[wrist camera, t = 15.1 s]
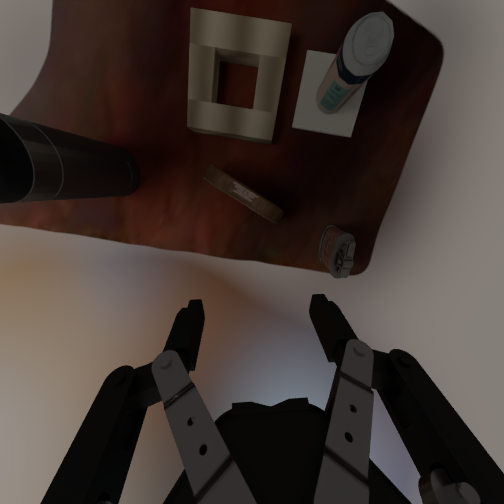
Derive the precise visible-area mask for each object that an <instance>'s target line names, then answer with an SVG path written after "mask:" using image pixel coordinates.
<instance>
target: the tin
mask: <svg viewBox="0 0 504 504" xmlns="http://www.w3.org/2000/svg"><path fill="white" fill-rule="evenodd" d="M202 178H203V179H205V180H206V181H208V182H209V183H210V184H212V185H214V186H215V187H217V188H218V189H220V190H221V191H223V192H224V193H226V194H228V195H229V196H231V197H232V198H234V199H236V200H237V201H239V202H240V203H242V204H244V205H245V206H247V207H248V208H250V209H251V210H253V211H255V212H256V213H258V214H259V215H261V216H263V217H264V218H266V219H268V220H269V221H271V222H273V223H275V224H278V221H279V220H280V218H281V217H282V215H283V210H282V209H280V208H279V207H278V206H276V205H275V204H273V203H272V202H270V201H269V200H267V199H266V198H264V197H263V196H261V195H260V194H258V193H257V192H255V191H254V190H252V189H251V188H249V187H248V186H246V185H244V184H243V183H241V182H240V181H238V180H237V179H235V178H233V177H232V176H230V175H229V174H227V173H225V172H224V171H222V170H221V169H219V168H217V167H216V166H214V165H209V166H208V168H207V170H206V172H205V174H204V176H203V177H202Z"/></svg>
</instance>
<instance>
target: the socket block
mask: <svg viewBox="0 0 504 504" xmlns="http://www.w3.org/2000/svg"><path fill="white" fill-rule="evenodd" d="M291 26H292V24H291V23H285V22H278V21H272V20H266V19H260V18H253V17H247V16H241V15H234V14H228V13H222V12H216V11H209V10H203V9H197V8H191V20H190V51H189V82H188V113H187V127H189V128H190V129H191V130H192V131H194V132H198V133H204V134H210V135H216V136H222V137H228V138H234V139H240V140H246V141H252V142H258V143H264V144H270V145H271V143H272V137H273V132H274V126H275V120H276V114H277V108H278V102H279V97H280V91H281V85H282V79H283V73H284V68H285V62H286V56H287V50H288V44H289V38H290V32H291ZM220 61H223V62H229V63H235V64H241V65H247V66H253V67H259V68H258V76H257V83H256V91H255V98H254V106H253V109H247V108H241V107H235V106H229V105H223V104H217V93H218V80H219V67H220Z"/></svg>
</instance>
